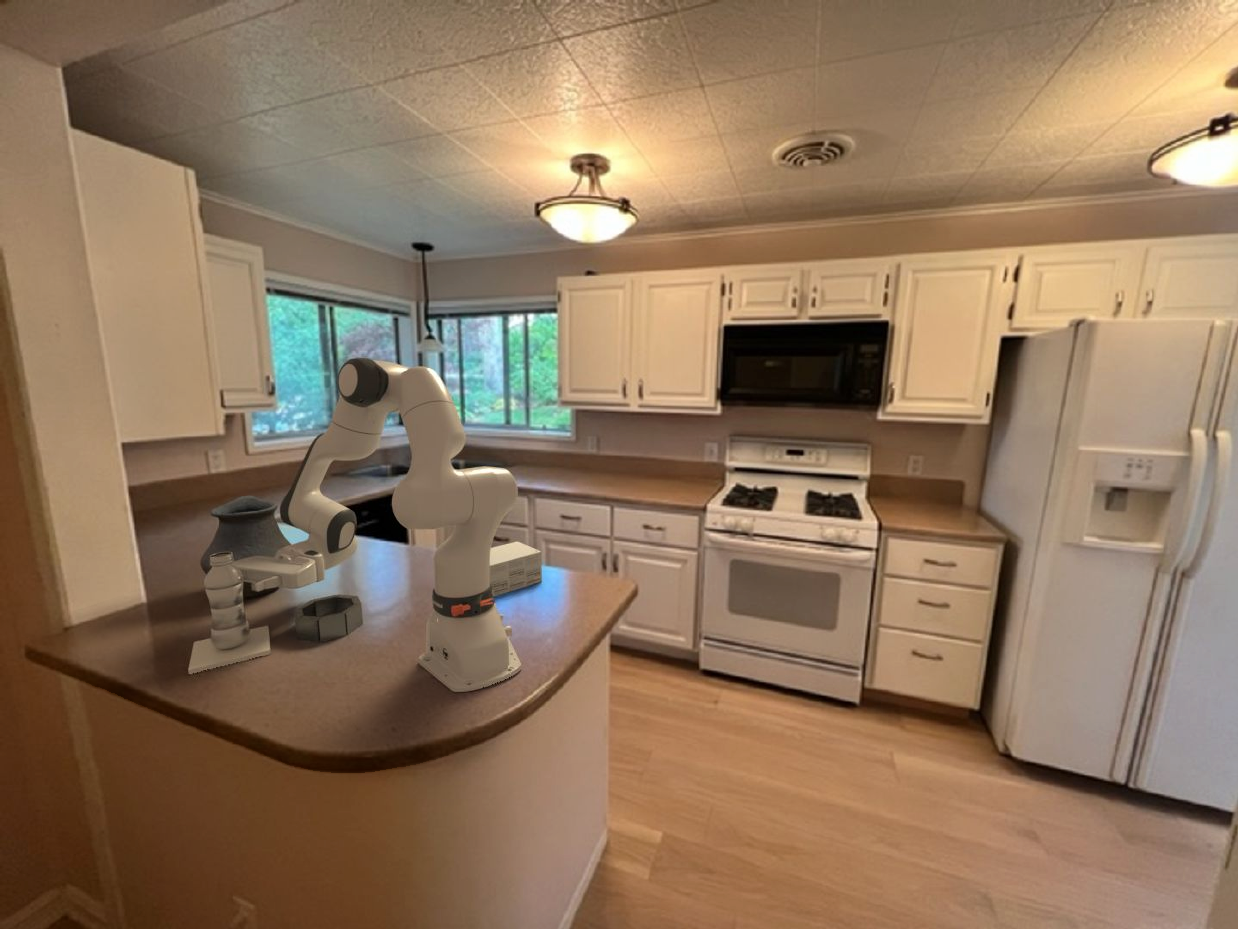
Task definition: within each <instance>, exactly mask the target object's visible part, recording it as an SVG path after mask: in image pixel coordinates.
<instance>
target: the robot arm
mask: <svg viewBox="0 0 1238 929" xmlns="http://www.w3.org/2000/svg"><path fill="white" fill-rule="evenodd" d="M337 389H338V391H339V394H340V396H339V397H338V400H337V402H336V405H335V408H334V410H333V414H332V417H331V421H330V424H329V426H328V427H327V430H326V431H325V432H322V433H320V434H318V435H317V436H316V437H315V438H314V439H313V440H312V442H311V444H310V445H309V448H308V450H307V451H306V454H305V456H304V457H303V460H302V463H301V464H300V467H299V470H298V471H297V473H296V476H295V478H294V481H293V482H292V485H291V487H290V489H289V490H288V491H287V493H286V494H285V496H284V497H283V499H282V500H281V502H280V505H279V516H280V518H281V520H282V522H283V523H284V524H286V525H288V526H291V527H293V528H295V529H299V530H300V531H303V532H304V533H306V534H308V538H307V539H305V540H302V541H298V542H296V543H293V544H292V543H291V545H289V546H286V547H283V548H281V549H279V550H278V551H277V553H276V555H275V557H267V556H252V557H248V558H244V559H241V560H237V561H234V562H232V563H233V565H235V566H236V567H237V568H238V569H239V570H240V571H241V572H242V574H243V582H249V583H252V584H251V587H252V590H253V591H261V590H264V589H269V588H274V587H278V588H281V589H282V588H283V589H289V590H296V589H300V588H301V589H302V588H304V587H306V586H309V585H312V584H314V583H319V582H322V581H324V580H325V578H326V577H325V574H326V572H325V571H328V570H330V569H332V568H334V567H337V566H339V565H340V564H342V563H344V562H346V561H347V560H349V559H350V558H352V556H353V555H354V554H355V553H356V552H357V549H358V547H359V546H358V544H359V542H358V538H357V535H356V532H357V527H358V526H357V523H358V522H357V515H356V513H355V511H353V510H351V509H350V508H348V507H346V506H344V505H343V504H341V503H338V502H336V501H334V500H332V499H331V498H329V497H327V496H325V495H324V494H322V492H321V489H320V486H321V483H322V482H323V480H324V478H325V475H326V474H327V471H328V469H329V467H330V465H331V463H332V462H333V461H343V462H344V461H346V462H348V461H358V460H362V459H365V458H367V457H369V456H370V455H372V454H373V453H374V452H376V450H377V448H378V446H379V443H380V442H381V437H382V434H383V431H384V427H385V423H386V418H387V416H388V415H389V414H390V413H394V414H400V417H401V420H402V423H403V426H404V430H405V433H406V436H407V439H408V442H409V448H410V452H411V461H410V462H411V463H410V466H409V469H408V471H407V473H406V475H405V476H404V478H403V479H402V480H401V481H400V482H399V483H398V484H397V485H396V487H395V489H394V490H393V491H394V492H393V494H392V498H391V507H392V508H391V509H392V512H393V514H394V516H395V518H396V520H397V521H398V522H399V524H400V525H402V526H403V527H404V528H406V529H407V530H410V531H411V530H420V531H421V530H422V531H424V530H437V529H441V528H447V527H451V526H454V528H453V531H452V532H451V534H450V535H449V536H448V538H447V539H446V540H444V541H443V542H442V543H441V544H440V545H439V546H438V547H437V548H436V550H435V551H434V554H433V558H432V564H433V566H432V567H433V584H434V585H433V586H434V588H433V589H432V595H431V602H432V608H433V611H432V613H431V615H430V616H429V617H428V619H427V621H426V623H425V624H426V626H425V628H426V629H425V652H423V653H422V654H420V656H419V657H418V664H419V665H420V666H421V667H422V668H423V669H425V670H426V671H427V672H428V673H430V674H431V675H432V676H433V677H435V679H437V680H438V681H440V682H441V683H442V684H443V685H444V686H445V687H447V688H448V689H449V690H450V691H451V692H454V693H462V692H471V691H476V690H480V689H483V687H484V688H486V687H490V686H493V685H495V683H496V684H498V683H501V682H503V681H506V680H508V679H509V677H510V678H512V677H513V676H514V675H516V674H518V673H519V672H520V671H521V670H522V663H521V661H520V659H519V655H518V654H517V652H516V650H515V648H514V646H513V644H512V642H511V640H510V638H511V637H512V636H513V629H512V626H511V625H505V626H504V624H503V621H504V614H503V613H499V611H498V609H497V608H498V607H497V604H496V602H495V596H494V593H493V589H492V584H491V583H490V550H491V548H492V544H493V541H494V537H495V534H496V533H497V530H498V529H499V526H500V524H501V522H502V520H503V519H504V517H505V516H506V515H507V514H508V513H509V512H510V511H511V510H512V509H513V508H514V506H515V504H516V502H517V500H518V494H519V492H518V491H519V489H518V484H517V481H516V479H515V477H514V475H513V474H512V473H511V472H510V471H509V470H508V469H506V468H503V467H495V466H475V467H469V468H461V469H455V468H454V466H453V465H452V462H451V460H452V459H453V458H455V457H456V456H457V455H458V454H460V452H461V451H462V450H463V448H464V447H465V445H466V440H467V437H466V436H467V435H466V432H465V429H464V426H463V423H462V422H461V418H460V415H459V413H458V410H457V408H456V405H455V403H454V400H453V398H452V396H451V394H450V392H449V390H448V388H447V386H446V383H444V381H443V380H442V378H441V377H440V375H439V374H438V373H437V372H436V371H435V369H432V368H430V367H427V366H422V365H421V366H420V365H419V366H413V367H409V366H405V365H402V364H399V363H396V362H390V361H387V360H386V361H385V360H375V359H372V358H367V357H353V358H350V359H348V360H346V361H345V362H344V364H342V366H341V368H340V369H339V371H338V374H337ZM511 676H512V677H511ZM505 679H506V680H505ZM500 681H501V682H500ZM497 682H498V683H497ZM492 684H493V685H492Z"/></svg>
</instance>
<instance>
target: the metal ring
mask: <svg viewBox="0 0 1238 929" xmlns="http://www.w3.org/2000/svg"><path fill="white" fill-rule="evenodd" d="M362 607H363V606H362V602H361V600H360V598H359V596H358V595H350V594H334V595H333V594H332V595H328V596H322V597H319V598H314V599H310V600H308V601H306V602H305V603H303V604H302V605H300V606H298V607H296V608H295V609H293V612H294V615H293V616H294V625H295V626H294V627H295V634H296V638H297V640H298V641H308V642H315V643H319V642H325V641H329V640H332V639H338V638H340V637H345V636H347V635H350V634H351V633H353V632H354V631H355V630H356V629H358V628H359V627H361V626H362V625H363V624H364V623H363V622H364V620H363V619H364V618H363V608H362Z"/></svg>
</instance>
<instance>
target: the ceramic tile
mask: <svg viewBox="0 0 1238 929" xmlns="http://www.w3.org/2000/svg"><path fill="white" fill-rule="evenodd" d="M270 640H271V639H270V630H269V625H265V626H264V625H263V626H261V627H260V626H259V627H255V628H250V636H249V638H248V640H247V641H246V642H245V643H244V644H242V645H240V646H237V647H234V648H230V649H224V650H221V649H217V648H215V647H214V646H213V644H212V642H211V637H210V638H206V639H202V640H196V641H194V642H193V646H192V649H191V654H190V660H189V665H188V670H187V671H188V675H189V674H190V675H193V673H194V674H196V673H197V672H198V673H201V671H202V672H204V671H203V670H206V671H208V670H207V669H210V670H214V669H217V668H216V667H218V668H221V667H220V666H222V667H225V665H226V666H229V665H228V664H230V665H233V663H234V664H237V663H236V662H238V663H242V662H246V661H249V659H250V660H252V658H254V659H256V658H255V657H258V658H260V657H259V656H262V657H265V656H266V657H267V656H269V655H271V654H272V653H271V641H270ZM241 661H242V662H241ZM213 668H214V669H213ZM198 673H197V674H198Z"/></svg>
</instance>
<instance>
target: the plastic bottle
mask: <svg viewBox="0 0 1238 929" xmlns="http://www.w3.org/2000/svg"><path fill="white" fill-rule="evenodd" d="M232 562H234V559H233V553H232V552H220V553H216V554H213V555H211V556H210V566H212V568H211V570H210V571H209V572H208V574H206V576H205V578H204V579H203V588H204V590H205V594H206V596H207V599H208V603H209V607H210V612H211V613H210V614H211V630H210V638H211V642H212V644H213V646H214V647H215V648H217V649H221V650H224V649H230V648H234V647H237V646H240V645H242V644H244V643H245V642H246V641H247V640H248V638H249V636H250V629H251V627H250V624H249V621H248V620H247V616H246V610H245V607H244V599H243V574H242V572H241V571H240V570H239V569H238V568H237V567H236V566H235V565H233V563H232Z"/></svg>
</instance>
